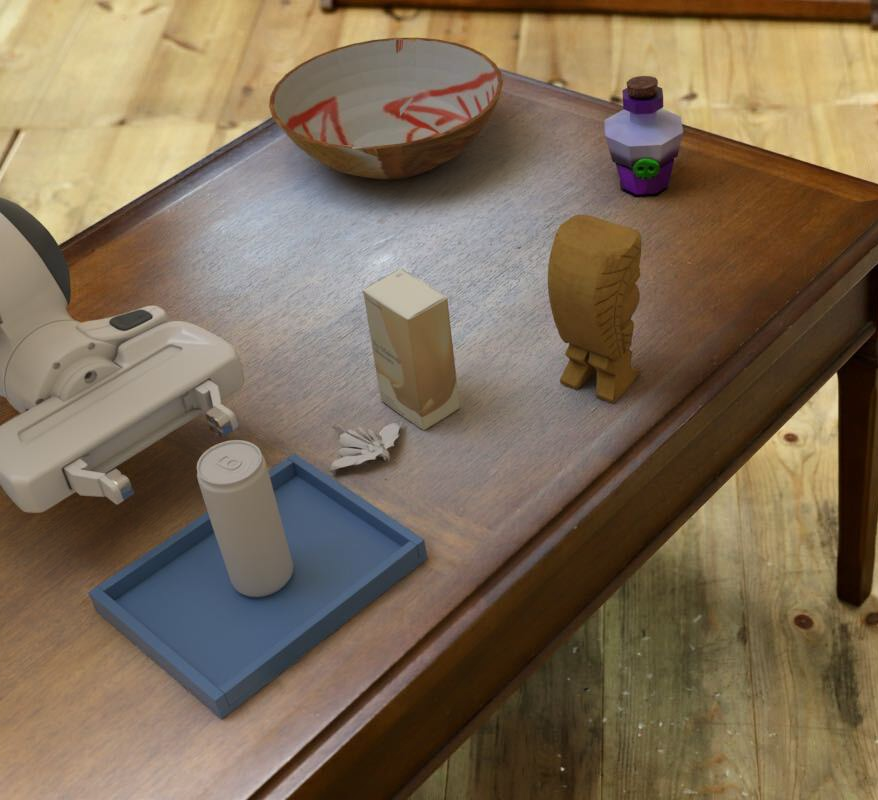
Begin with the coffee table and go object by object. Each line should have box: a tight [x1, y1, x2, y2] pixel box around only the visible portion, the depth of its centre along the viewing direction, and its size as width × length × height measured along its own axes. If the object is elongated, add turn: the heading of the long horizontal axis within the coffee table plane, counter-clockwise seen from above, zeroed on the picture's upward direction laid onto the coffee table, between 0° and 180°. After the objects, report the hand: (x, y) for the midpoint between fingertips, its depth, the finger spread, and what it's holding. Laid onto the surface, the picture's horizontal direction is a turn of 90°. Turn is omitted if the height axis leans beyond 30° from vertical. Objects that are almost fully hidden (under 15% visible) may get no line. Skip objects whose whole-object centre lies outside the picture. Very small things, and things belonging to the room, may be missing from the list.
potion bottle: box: [604, 75, 684, 198], centre depth 143 cm, size 9×9×12 cm
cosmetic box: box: [362, 267, 461, 431], centre depth 116 cm, size 6×4×12 cm
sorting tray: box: [87, 453, 428, 720], centre depth 104 cm, size 20×16×2 cm
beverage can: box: [196, 439, 293, 597], centre depth 101 cm, size 5×5×12 cm
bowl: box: [268, 37, 504, 181], centre depth 151 cm, size 25×25×8 cm
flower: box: [329, 420, 403, 471], centre depth 116 cm, size 8×8×3 cm
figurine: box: [547, 214, 642, 404], centre depth 117 cm, size 7×7×15 cm
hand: (178, 458), depth 103 cm, fingers open, 8 cm apart
